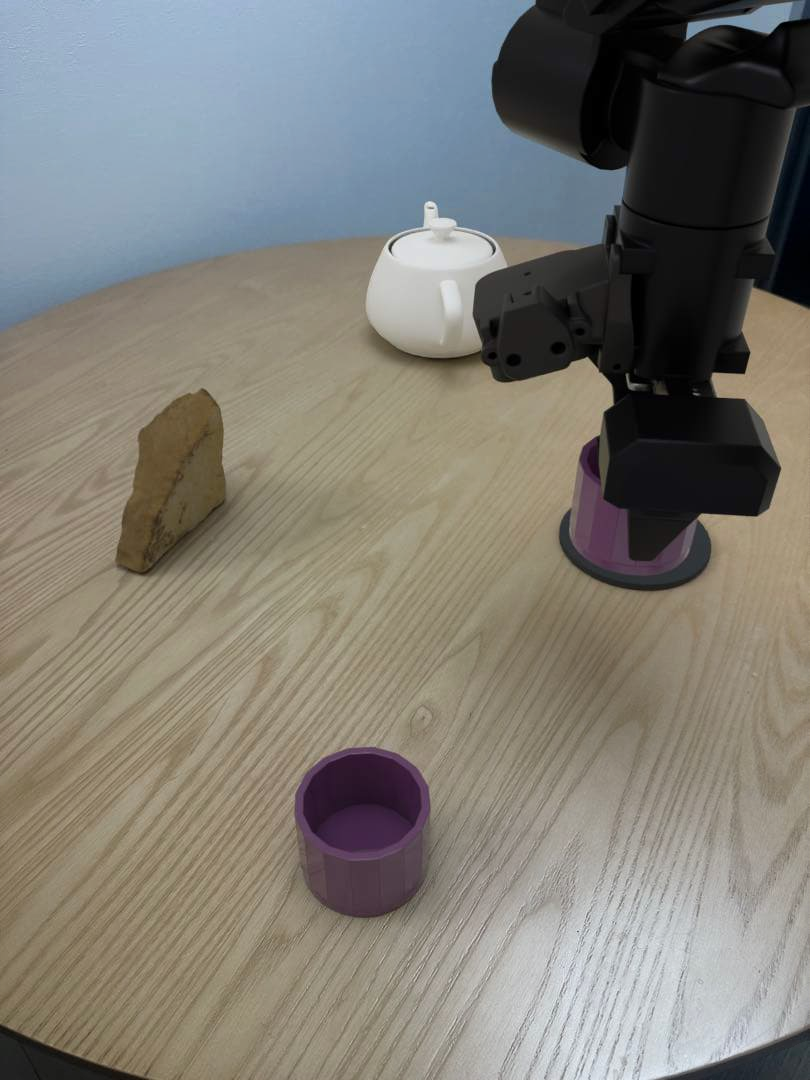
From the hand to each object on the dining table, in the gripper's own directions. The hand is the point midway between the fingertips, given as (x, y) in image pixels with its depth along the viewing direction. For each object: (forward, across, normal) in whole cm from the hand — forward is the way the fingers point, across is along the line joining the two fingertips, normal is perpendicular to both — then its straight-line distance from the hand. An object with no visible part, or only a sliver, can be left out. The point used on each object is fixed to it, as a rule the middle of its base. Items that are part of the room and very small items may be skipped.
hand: (634, 517), depth 47 cm
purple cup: (+1, 0, 0) cm, 1 cm away
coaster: (+11, -12, +3) cm, 17 cm away
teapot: (+12, -43, -12) cm, 46 cm away
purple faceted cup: (+11, +13, -12) cm, 21 cm away
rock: (+12, -11, -29) cm, 33 cm away
